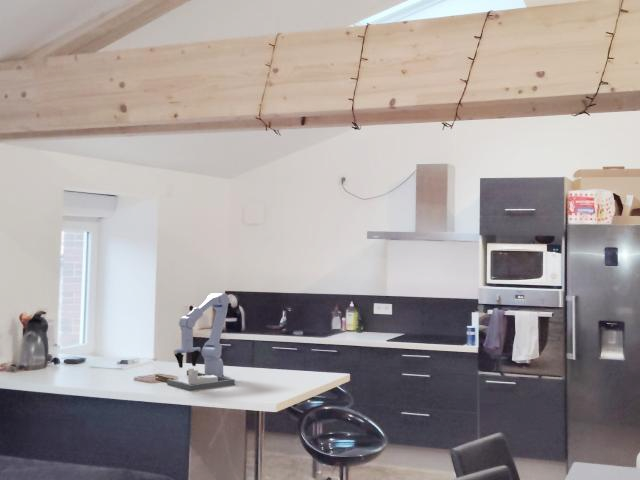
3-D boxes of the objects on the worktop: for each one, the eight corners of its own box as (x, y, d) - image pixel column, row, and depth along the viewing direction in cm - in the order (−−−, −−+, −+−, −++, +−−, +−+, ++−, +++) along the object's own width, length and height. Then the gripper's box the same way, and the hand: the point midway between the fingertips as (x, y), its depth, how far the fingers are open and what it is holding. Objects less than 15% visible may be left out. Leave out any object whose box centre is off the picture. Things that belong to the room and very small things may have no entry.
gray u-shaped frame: (210, 378, 396) (210, 373, 396) (234, 384, 378) (234, 379, 378) (167, 384, 379) (167, 379, 379) (190, 390, 362) (190, 385, 362)
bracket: (192, 386, 376) (192, 370, 376) (188, 383, 382) (188, 368, 382) (217, 384, 382) (217, 368, 382) (213, 381, 388) (213, 366, 388)
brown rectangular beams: (189, 374, 407) (189, 370, 407) (205, 378, 395) (205, 374, 395) (155, 379, 394) (155, 374, 394) (170, 383, 382) (170, 378, 382)
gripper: (195, 338, 397) (195, 364, 397) (170, 340, 388) (170, 367, 388) (202, 339, 392) (202, 365, 392) (177, 341, 382) (177, 369, 382)
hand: (187, 366), depth 389 cm, fingers open, 7 cm apart
